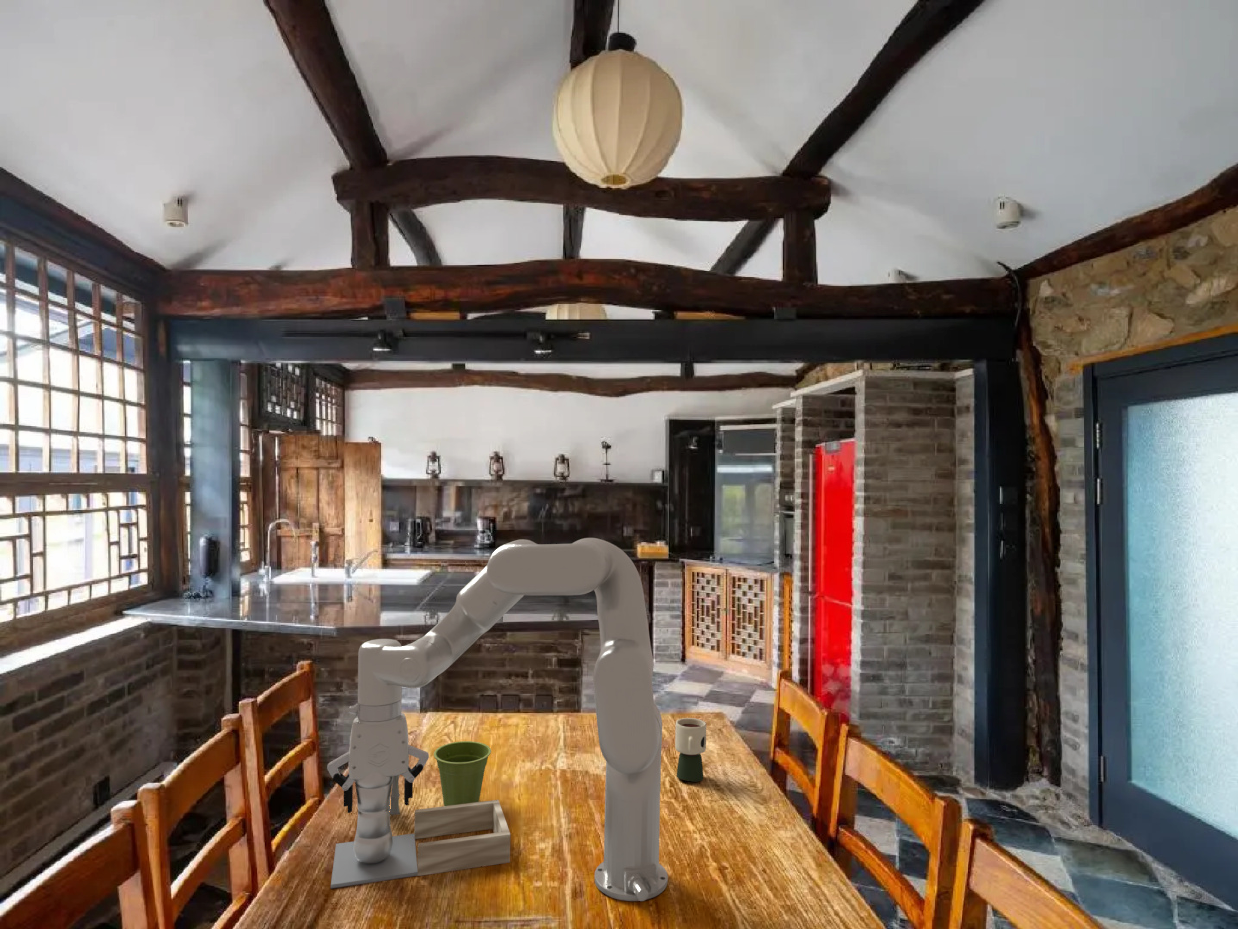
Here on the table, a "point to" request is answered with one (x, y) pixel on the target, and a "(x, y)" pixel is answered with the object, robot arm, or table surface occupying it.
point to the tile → (392, 867)
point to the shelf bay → (462, 849)
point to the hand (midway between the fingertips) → (378, 806)
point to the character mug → (690, 748)
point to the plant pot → (461, 771)
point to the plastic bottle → (373, 818)
